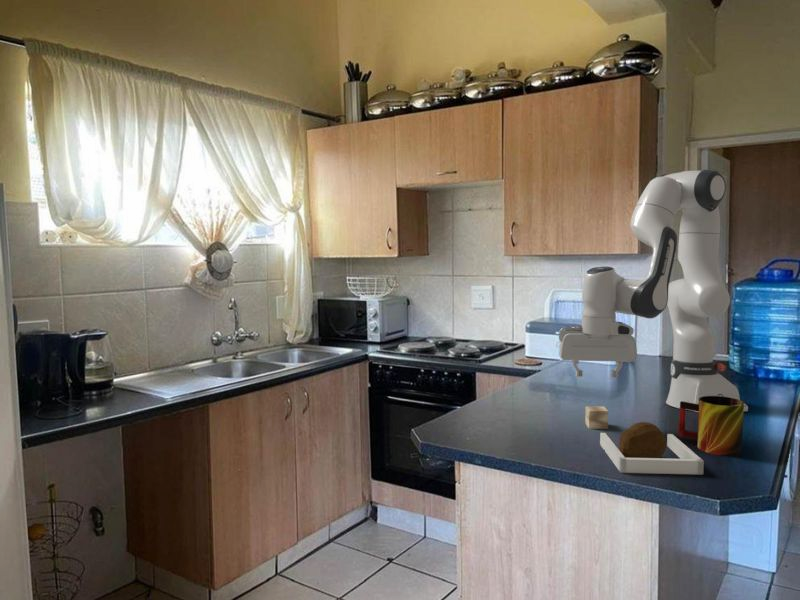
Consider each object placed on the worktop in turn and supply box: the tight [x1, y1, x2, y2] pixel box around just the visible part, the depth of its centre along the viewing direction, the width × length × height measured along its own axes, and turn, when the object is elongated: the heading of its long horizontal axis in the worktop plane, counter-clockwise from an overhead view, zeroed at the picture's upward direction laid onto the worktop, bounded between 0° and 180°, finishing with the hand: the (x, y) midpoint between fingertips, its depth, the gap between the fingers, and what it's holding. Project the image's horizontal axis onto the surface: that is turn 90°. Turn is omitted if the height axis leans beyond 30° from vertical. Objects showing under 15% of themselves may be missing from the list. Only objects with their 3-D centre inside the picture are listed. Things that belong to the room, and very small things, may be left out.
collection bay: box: [599, 432, 705, 476], centre depth 143 cm, size 17×19×3 cm
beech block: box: [584, 405, 609, 430], centre depth 169 cm, size 5×5×5 cm
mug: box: [678, 396, 745, 457], centre depth 150 cm, size 10×14×12 cm
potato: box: [618, 421, 667, 458], centre depth 142 cm, size 8×12×9 cm
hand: (596, 376), depth 168 cm, fingers open, 8 cm apart
